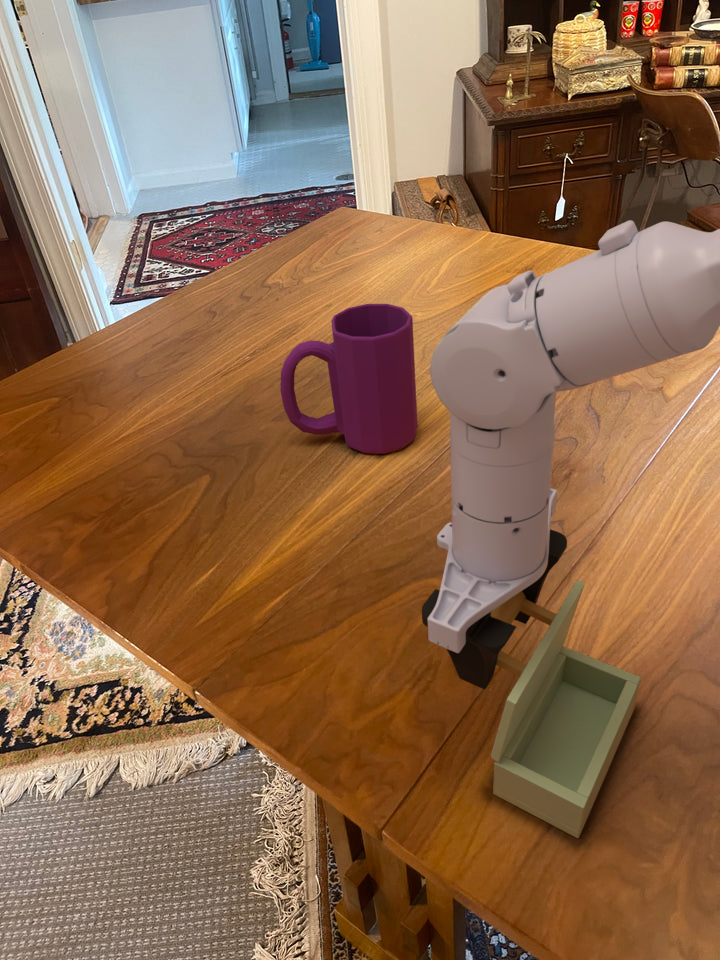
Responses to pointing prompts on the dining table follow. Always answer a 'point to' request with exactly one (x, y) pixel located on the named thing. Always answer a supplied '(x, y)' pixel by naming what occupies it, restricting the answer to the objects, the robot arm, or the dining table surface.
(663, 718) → the dining table surface
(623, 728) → the box
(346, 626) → the dining table surface
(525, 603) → the lid
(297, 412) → the mug
